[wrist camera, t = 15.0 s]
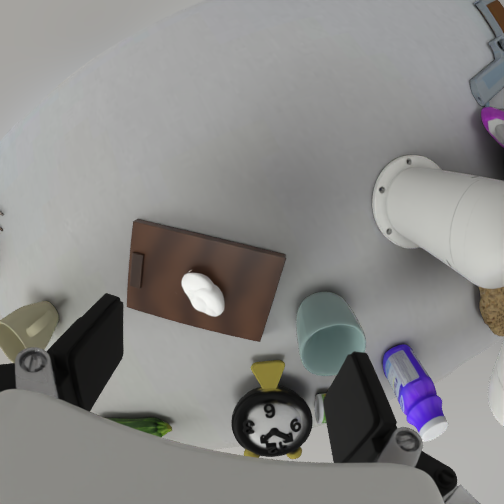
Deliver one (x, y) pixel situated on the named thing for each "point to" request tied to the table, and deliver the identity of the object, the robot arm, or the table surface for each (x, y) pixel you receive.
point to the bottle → (414, 392)
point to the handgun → (500, 69)
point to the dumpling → (203, 294)
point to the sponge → (493, 308)
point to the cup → (327, 333)
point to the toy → (494, 123)
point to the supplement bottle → (320, 408)
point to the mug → (27, 328)
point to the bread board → (209, 264)
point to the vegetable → (146, 425)
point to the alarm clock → (271, 416)
